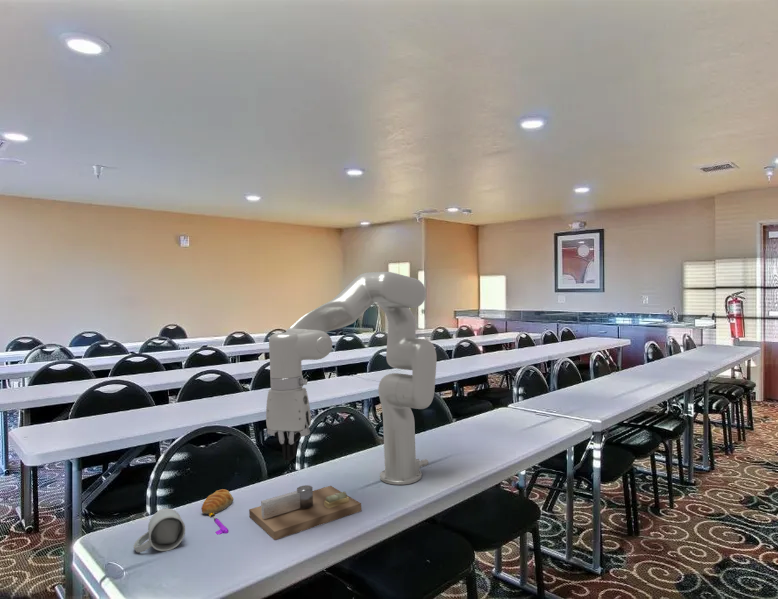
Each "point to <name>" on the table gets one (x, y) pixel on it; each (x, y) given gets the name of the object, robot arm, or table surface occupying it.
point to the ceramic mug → (162, 532)
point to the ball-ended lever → (287, 502)
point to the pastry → (217, 501)
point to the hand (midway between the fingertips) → (289, 458)
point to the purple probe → (222, 527)
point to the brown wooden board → (308, 513)
